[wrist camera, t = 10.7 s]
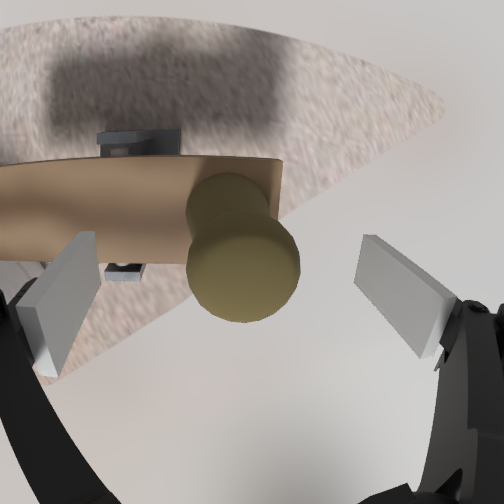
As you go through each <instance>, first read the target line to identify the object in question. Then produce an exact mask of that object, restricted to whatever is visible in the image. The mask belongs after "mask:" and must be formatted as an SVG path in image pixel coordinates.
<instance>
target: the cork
mask: <svg viewBox="0 0 504 504" xmlns="http://www.w3.org/2000/svg"><path fill="white" fill-rule="evenodd" d="M185 215H186V221H187V227H188V230H189V233H190V236H191V239H192V243H191V245H190V247H189V251H188V258H187V265H186V273H187V278H188V283H189V287H190V289H191V291H192V292H193V294H194V296H195V297H196V299H197V300H198V302H199V303H200V305H201V306H203V307H204V308H205V309H206V310H207V311H209V312H210V313H211V314H212V315H215V316H217V317H220V318H222V319H225V320H228V321H231V322H242V323H247V322H253V321H259V320H262V319H264V318H266V317H268V316H270V315H273V314H274V313H275V312H277V311H278V310H279V309H280V308H281V307H282V306H284V305H285V304H286V303H287V301H288V300H289V298H290V297H291V295H292V294H293V292H294V291H295V289H296V287H297V284H298V280H299V277H300V256H299V251H298V248H297V246H296V244H295V241H294V239H293V237H292V236H291V235H290V233H289V232H288V231H287V230H286V229H285V228H284V227H283V226H282V225H281V224H280V222H279V221H277V220H275V219H274V218H272V217H271V214H270V210H269V207H268V203H267V200H266V198H265V196H264V194H263V191H262V190H261V189H260V187H259V186H258V185H257V184H256V183H255V182H254V181H253V180H251V179H249V178H247V177H245V176H243V175H241V174H236V173H230V172H227V173H220V174H214V175H212V176H210V177H208V178H206V179H204V180H203V181H201V182H200V183H199V184H198V185H197V186H196V187H195V188H194V189H193V191H192V193H191V195H190V197H189V199H188V201H187V206H186V212H185Z"/></svg>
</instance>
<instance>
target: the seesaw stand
mask: <svg viewBox="0 0 504 504" xmlns="http://www.w3.org/2000/svg"><path fill="white" fill-rule="evenodd" d="M179 143H180V130H142V131H116V132H101V133H98V134H97V144H101V146H100V157H103V156H110V148H118V147H128V156H129V155H179ZM145 266H146V263H131V264H129V265H126V266H118V265H116V263H109V264H108V266H107V268H106V270H105V271H104V274H105V281H141V278H142V275H143V272H144V269H145Z"/></svg>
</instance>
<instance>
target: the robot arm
mask: <svg viewBox="0 0 504 504" xmlns="http://www.w3.org/2000/svg"><path fill="white" fill-rule="evenodd" d="M354 283H355V284H356V286H357V287H358V288H359V289H360V290H361V291H362V292H363V293H364V294H365V296H366V297H367V298H368V299H369V300H370V301H371V302H372V304H373V305H374V306H375V307H376V308H377V309H378V310H379V311H380V312H381V314H382V315H383V316H384V317H385V318H386V319H387V321H388V322H389V323H390V324H391V325H392V326H393V327H394V329H395V330H396V331H397V332H398V333H399V335H400V336H401V337H402V338H403V339H404V340H405V342H406V343H407V344H408V345H409V346H410V348H411V349H412V350H413V351H414V352H415V353H416V355H417V356H418V357H419V358H420V359H422V358H426V357H431V356H434V354H435V352H436V350H437V347H438V345H439V343H440V344H441V345H442V346H443V348H444V350H443V352H442V354H441V356H440V358H439V361H438V363H437V365H436V367H435V369H434V371H437V369H438V368H440V371H439V381H438V390H437V398H436V406H435V413H434V420H433V426H432V432H431V438H430V443H429V448H428V453H427V457H426V463H425V466H424V471H423V475H422V479H421V483H420V485H419V488H418V490H417V491H416V492H412V491H411V489H410V487H409V485H408V484H407V483H405V484H403V485H400V486H398V487H395V488H392V489H390V490H387V491H384V492H381V493H378V494H375V495H372V496H370V497H368V498H366V499H365V500H363V501H361V502H360V503H358V504H504V304H501V305H500V307H499V310H498V312H497V314H492V313H490V311H489V310H488V308H487V307H486V306H484V305H483V304H481V303H480V302H478V301H472V300H465V301H463V302H462V301H461V300H459V299H458V298H457V296H456V295H455V294H453V293H452V292H451V291H450V290H448V289H447V288H446V287H444V286H443V285H442V284H441V283H440V282H438V281H437V280H436V279H434V278H433V277H432V276H431V275H429V274H428V273H427V272H425V271H424V270H423V269H422V268H420V267H419V266H417V265H416V264H415V263H414V262H412V261H411V260H410V259H408V258H407V257H406V256H404V255H403V254H401V253H400V252H399V251H398V250H396V249H394V248H393V247H392V246H391V245H389V244H388V243H386V242H385V241H384V240H382V239H381V238H379V237H378V236H377V235H363V241H362V246H361V251H360V256H359V260H358V265H357V270H356V275H355V279H354ZM100 285H101V281H100V274H99V266H98V258H97V249H96V240H95V231H80V232H79V233H78V234H77V235H76V236H75V237H74V238H73V239H72V240H71V241H70V242H69V243H68V245H67V246H66V247H65V248H64V249H63V250H62V251H61V252H60V253H59V254H58V256H57V257H56V258H55V259H54V260H53V261H52V262H51V263H50V265H49V266H48V267H47V268H46V269H45V270H44V271H43V273H42V274H41V275H40V276H39V277H34V278H33V279H31V280H30V281H28V282H26V283H25V284H24V285H23V287H22V288H21V289H20V291H18V292H17V294H16V295H15V297H13V298H12V300H11V301H10V302H9V303H8V305H7V303H6V300H5V296H4V293H3V291H2V290H1V289H0V418H1V421H2V423H3V426H4V429H5V432H6V434H7V436H8V439H9V441H10V444H11V446H12V449H13V451H14V453H15V456H16V458H17V460H18V462H19V464H20V467H21V469H22V471H23V473H24V475H25V477H26V479H27V481H28V483H29V485H30V487H31V488H32V490H33V492H34V494H35V496H36V498H37V500H38V501H39V503H40V504H121V503H120V501H118V499H117V498H116V497H115V496H114V495H113V493H112V492H110V491H109V490H108V489H107V488H106V486H105V485H104V484H103V483H102V481H101V480H100V479H99V478H98V476H97V475H96V473H95V472H94V471H93V469H92V468H91V467H90V465H89V464H88V462H87V461H86V460H85V458H84V457H83V455H82V454H81V452H80V451H79V449H78V448H77V446H76V445H75V443H74V442H73V440H72V439H71V438H70V436H69V434H68V433H67V431H66V429H65V428H64V426H63V424H62V423H61V421H60V419H59V418H58V416H57V414H56V413H55V411H54V409H53V407H52V405H51V404H50V402H49V401H48V399H47V396H46V395H45V393H44V391H43V389H42V387H41V385H40V383H39V381H38V379H37V377H36V375H35V373H34V371H33V369H32V366H33V364H34V362H35V364H36V367H37V369H38V372H39V374H40V375H43V376H50V377H58V378H59V375H60V373H61V370H62V368H63V366H64V363H65V361H66V358H67V356H68V354H69V351H70V349H71V347H72V344H73V342H74V340H75V338H76V335H77V333H78V331H79V329H80V327H81V325H82V322H83V320H84V318H85V316H86V314H87V312H88V310H89V308H90V306H91V303H92V301H93V299H94V297H95V295H96V293H97V291H98V289H99V287H100Z"/></svg>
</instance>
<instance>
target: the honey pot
mask: <svg viewBox="0 0 504 504" xmlns="http://www.w3.org/2000/svg"><path fill="white" fill-rule="evenodd" d="M43 271H44V268H43V267H42V265H41V263H40V262H34V261H0V289H1V290H2V291H3V293H4V296H5V300H6V303H7V305H8V303H9V302H10V301H11V300H12V298H13V297H15V295H16V294H17V292H18V291H20V289H21V288H22V287H23V285H24V284H25V283H26V282H28V281H30V280H31V279H33V278H34V277H39V276H40V275H41V274H42V273H43Z"/></svg>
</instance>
